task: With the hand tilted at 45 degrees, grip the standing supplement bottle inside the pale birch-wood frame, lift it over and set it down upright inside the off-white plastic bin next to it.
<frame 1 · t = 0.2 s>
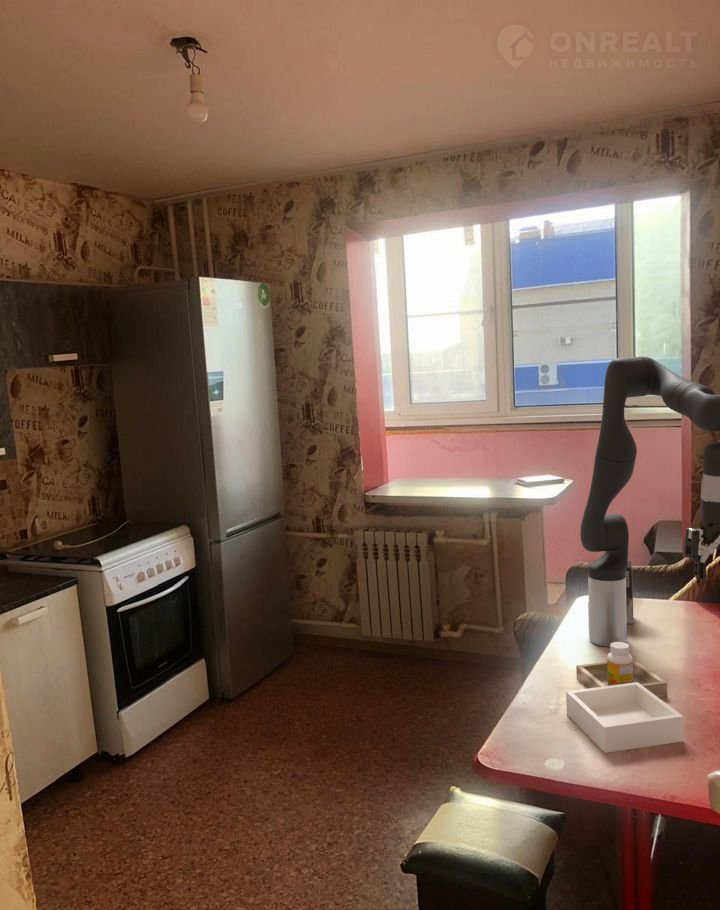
hand: (719, 577, 145), 29 cm above the table, tool pointing down, fingers open, 8 cm apart
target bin: (622, 727, 146), on the table
supplement bottle: (620, 687, 164), resting in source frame
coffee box: (616, 620, 206), on the table
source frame: (620, 686, 164), on the table
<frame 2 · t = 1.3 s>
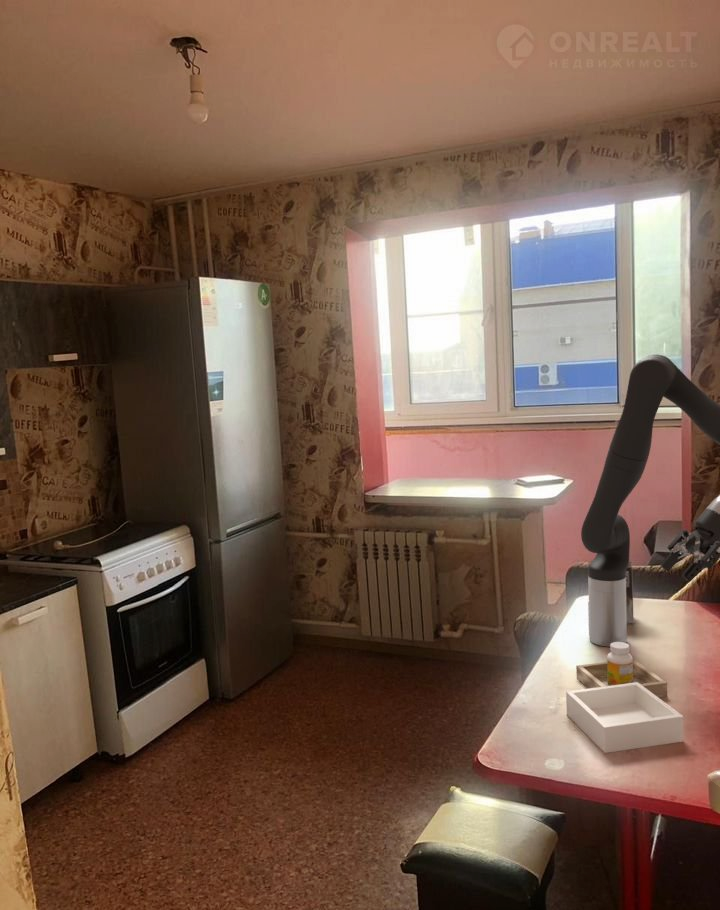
hand: (674, 573, 163), 25 cm above the table, tool tilted 45°, fingers open, 8 cm apart
nothing on the table moved.
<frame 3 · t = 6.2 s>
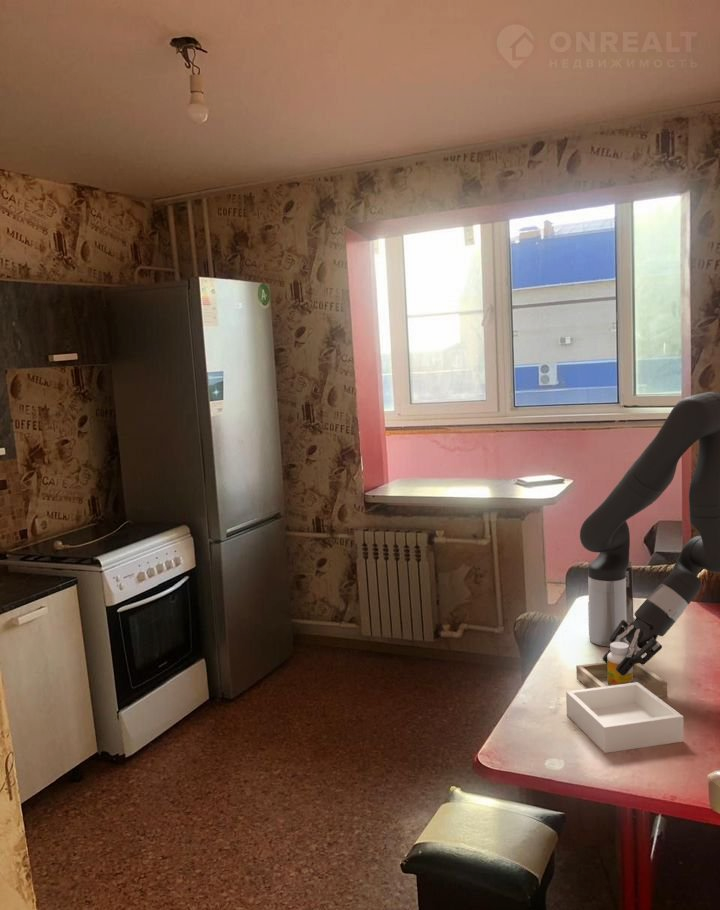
hand: (612, 667, 163), 5 cm above the table, tool tilted 45°, fingers closed on supplement bottle, 5 cm apart
supplement bottle: (620, 687, 164), resting in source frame, touching gripper
everything else where it was.
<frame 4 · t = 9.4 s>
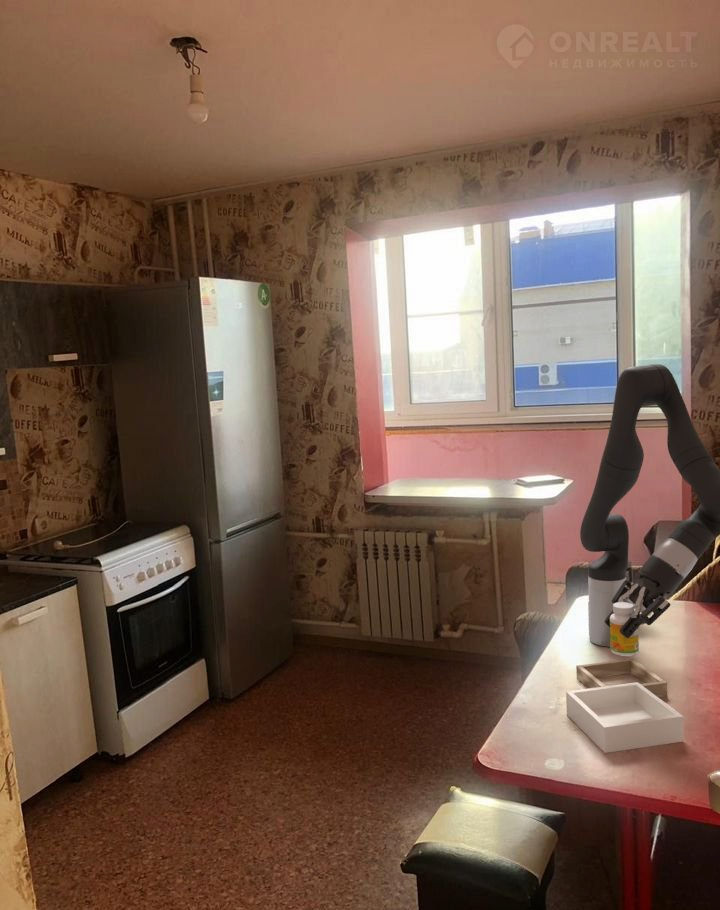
hand: (615, 630, 148), 18 cm above the table, tool tilted 45°, fingers closed on supplement bottle, 5 cm apart
supplement bottle: (624, 652, 149), point 14 cm above the table, touching gripper
everything else where it was.
when the fingers open (7 cm above the table, at t = 12.5 s): supplement bottle drops 1 cm, resting on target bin.
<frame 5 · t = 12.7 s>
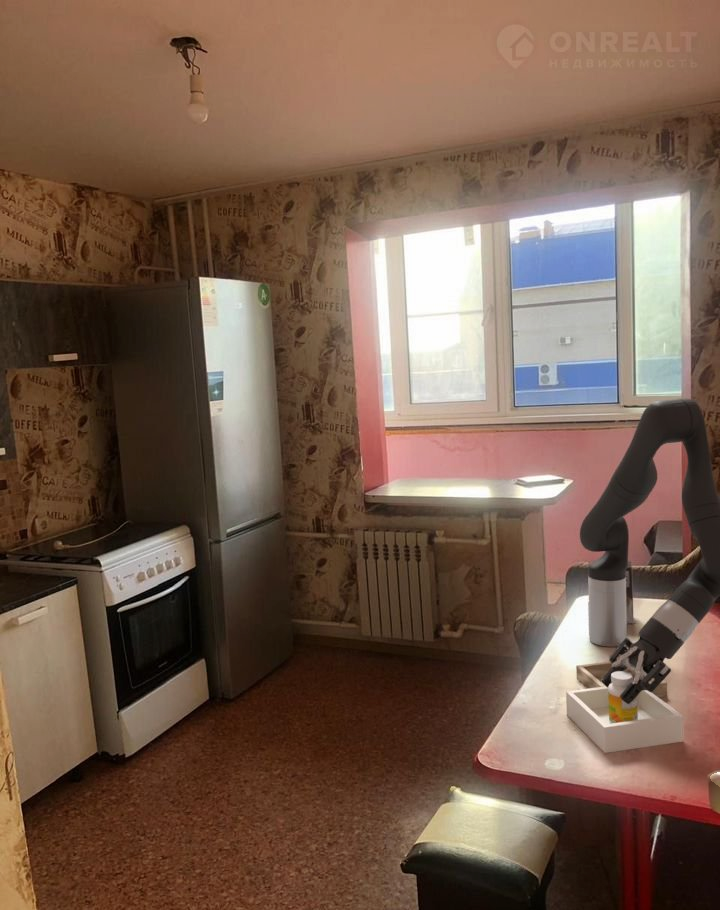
hand: (614, 692, 145), 7 cm above the table, tool tilted 45°, fingers open, 6 cm apart
supplement bottle: (623, 723, 146), point 1 cm above the table, touching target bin
everything else where it was.
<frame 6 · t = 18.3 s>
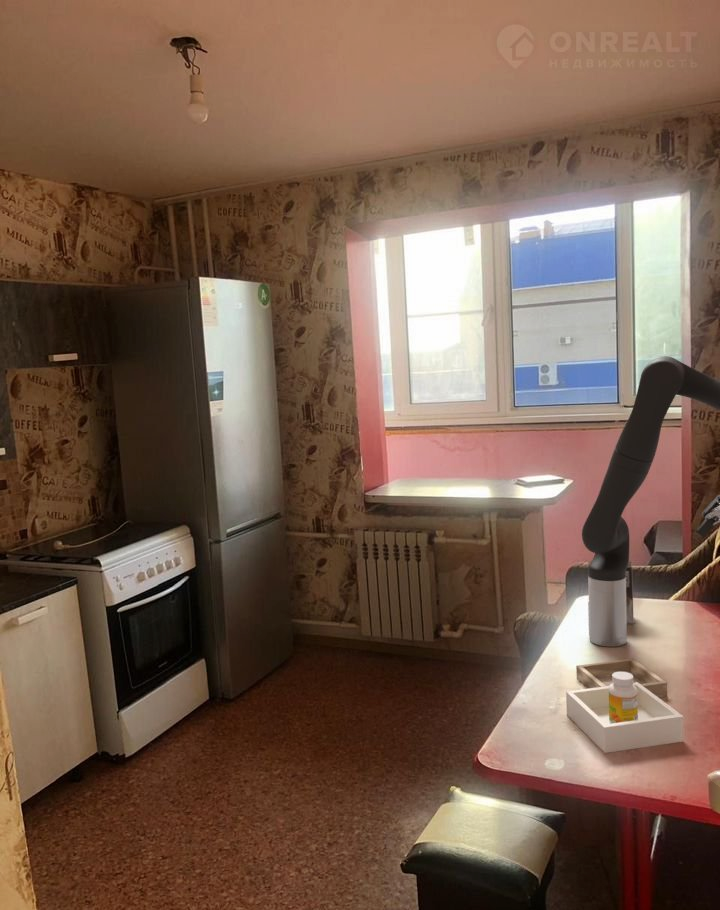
hand: (711, 539, 159), 33 cm above the table, tool tilted 45°, fingers open, 8 cm apart
nothing on the table moved.
at the end: supplement bottle inside the target area on the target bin (0.2 cm from its centre), point 0.8 cm above the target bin's base; supplement bottle tilted 0°; the gripper is holding nothing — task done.
